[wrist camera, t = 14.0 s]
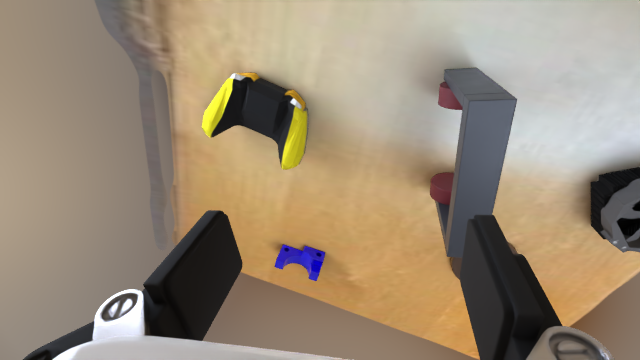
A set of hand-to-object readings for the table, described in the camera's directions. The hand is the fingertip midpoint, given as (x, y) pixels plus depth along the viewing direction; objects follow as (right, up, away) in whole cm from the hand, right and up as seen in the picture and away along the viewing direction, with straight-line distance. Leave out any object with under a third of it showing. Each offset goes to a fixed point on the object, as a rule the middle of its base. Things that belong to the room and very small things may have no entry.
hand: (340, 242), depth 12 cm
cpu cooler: (+40, 0, +28) cm, 49 cm away
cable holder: (-4, -11, +46) cm, 47 cm away
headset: (+17, +8, +29) cm, 35 cm away
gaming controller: (-9, +12, +33) cm, 36 cm away
